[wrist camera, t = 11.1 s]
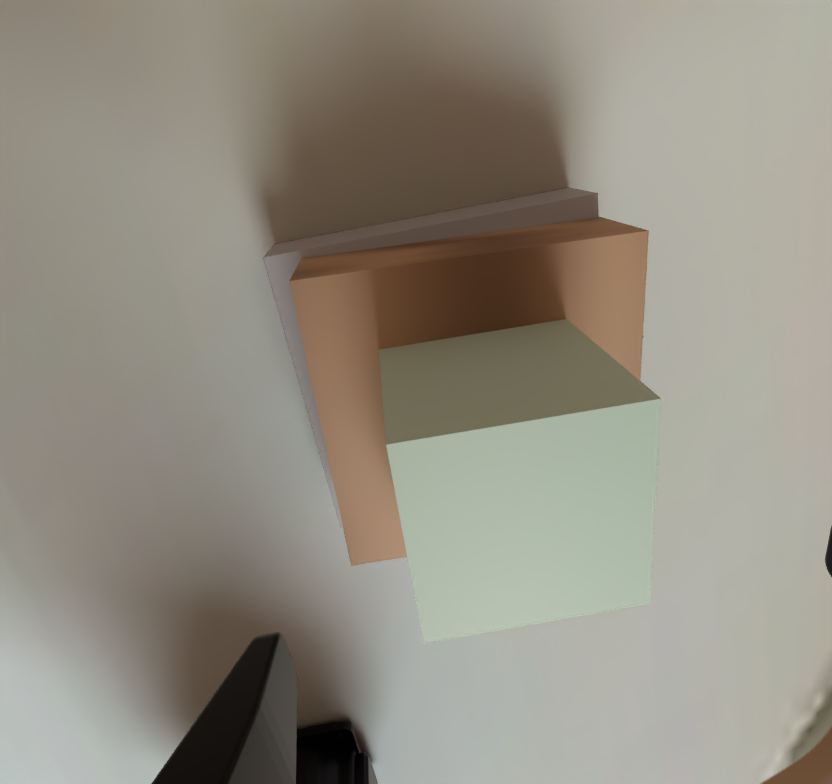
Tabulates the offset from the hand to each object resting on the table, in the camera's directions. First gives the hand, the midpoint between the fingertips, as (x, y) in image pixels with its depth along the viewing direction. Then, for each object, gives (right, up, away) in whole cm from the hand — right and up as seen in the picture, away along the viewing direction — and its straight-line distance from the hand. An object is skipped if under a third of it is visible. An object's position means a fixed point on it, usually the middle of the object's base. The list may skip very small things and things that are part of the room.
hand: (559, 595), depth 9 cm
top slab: (-1, +4, +9) cm, 10 cm away
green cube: (0, +3, +7) cm, 7 cm away
